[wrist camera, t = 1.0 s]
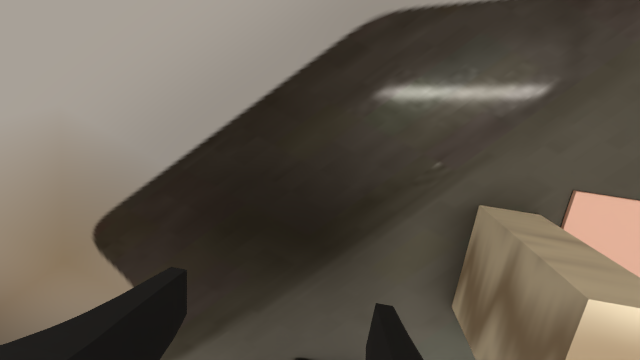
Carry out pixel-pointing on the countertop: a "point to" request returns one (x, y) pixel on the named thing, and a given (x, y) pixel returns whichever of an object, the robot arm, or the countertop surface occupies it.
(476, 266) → the maple block
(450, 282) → the countertop surface
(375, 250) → the countertop surface
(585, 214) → the mat
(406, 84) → the countertop surface
